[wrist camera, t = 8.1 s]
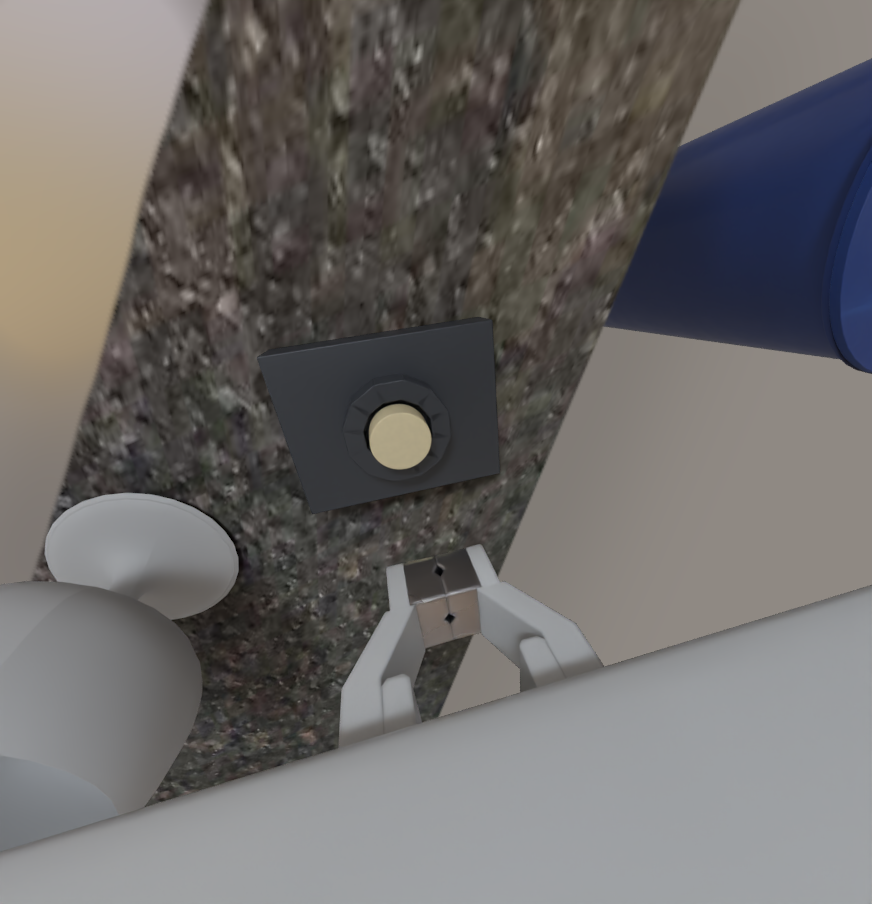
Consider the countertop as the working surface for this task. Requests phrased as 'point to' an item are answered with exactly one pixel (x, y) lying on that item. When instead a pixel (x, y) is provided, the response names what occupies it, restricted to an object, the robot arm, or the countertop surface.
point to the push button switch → (399, 436)
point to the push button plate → (379, 385)
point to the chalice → (103, 661)
